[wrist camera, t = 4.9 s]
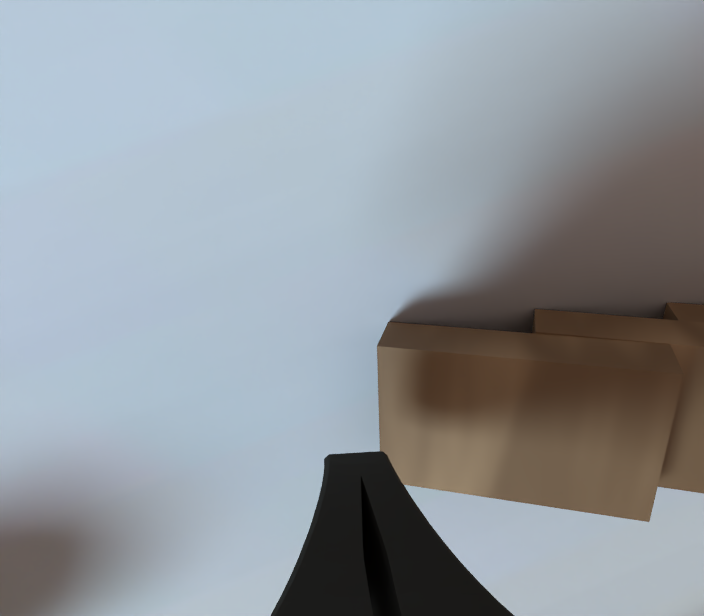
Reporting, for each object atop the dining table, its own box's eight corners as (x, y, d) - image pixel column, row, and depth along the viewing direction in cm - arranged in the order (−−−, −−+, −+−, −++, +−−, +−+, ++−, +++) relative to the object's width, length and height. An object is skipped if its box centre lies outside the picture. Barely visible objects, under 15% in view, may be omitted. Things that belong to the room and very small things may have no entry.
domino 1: (388, 321, 16) (670, 344, 14) (390, 450, 18) (639, 484, 16) (377, 346, 15) (684, 374, 13) (381, 481, 16) (649, 522, 15)
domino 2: (534, 308, 16) (829, 332, 14) (520, 436, 18) (778, 471, 16) (535, 331, 15) (857, 360, 13) (519, 465, 17) (799, 507, 15)
